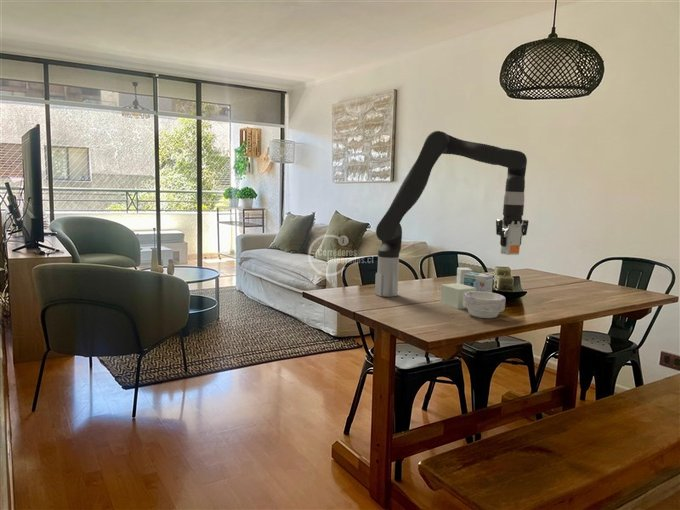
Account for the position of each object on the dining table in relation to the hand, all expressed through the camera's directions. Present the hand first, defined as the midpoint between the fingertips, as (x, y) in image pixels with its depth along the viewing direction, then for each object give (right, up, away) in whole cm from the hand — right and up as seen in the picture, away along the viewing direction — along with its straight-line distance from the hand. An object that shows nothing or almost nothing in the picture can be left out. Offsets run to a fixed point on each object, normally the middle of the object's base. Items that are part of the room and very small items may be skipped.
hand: (510, 246), depth 194 cm
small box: (-9, -20, +38) cm, 44 cm away
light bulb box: (-7, -23, +22) cm, 32 cm away
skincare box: (0, -3, 0) cm, 3 cm away
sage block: (-19, -24, +8) cm, 32 cm away
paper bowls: (-13, -27, -8) cm, 31 cm away
